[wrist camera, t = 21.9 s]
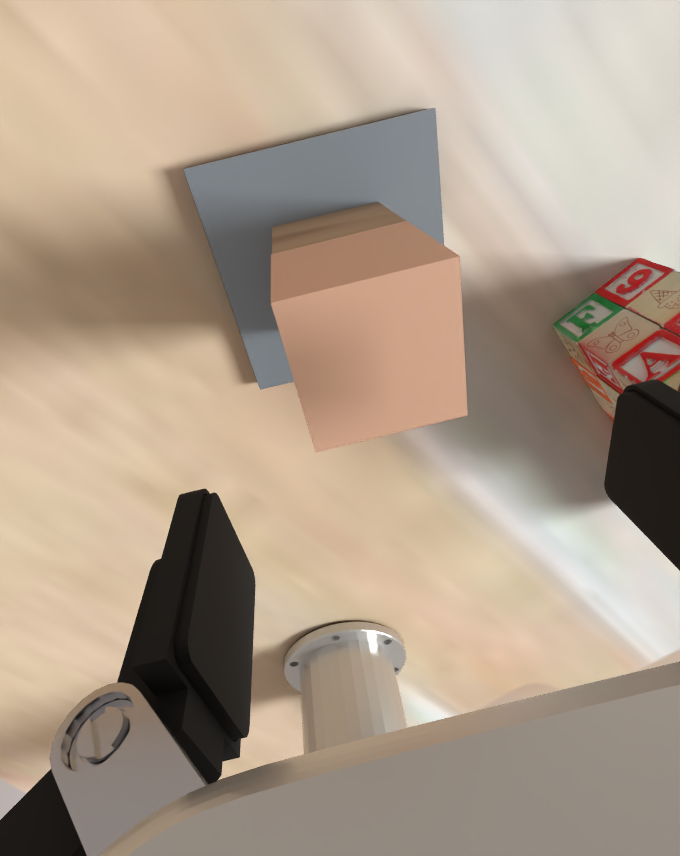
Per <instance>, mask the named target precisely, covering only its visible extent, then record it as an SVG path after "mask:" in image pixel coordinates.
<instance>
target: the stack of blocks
mask: <svg viewBox="0 0 680 856" xmlns="http://www.w3.org/2000/svg"><path fill="white" fill-rule="evenodd" d="M553 328H554V330H555V331H556V333H557V334H558V336H559V338H560V339H561V341H562V342H563V344H564V346H565V347H566V349H567V351H568V352H569V354H570V355H571V359H572V361H573V363H574V364H575V366H576V367H577V369H578V370H579V372H580V374H581V375H582V377H583V378H584V380H585V381H586V383H587V384H588V386H589V388H590V389H591V391H592V393H593V394H594V396H595V398H596V399H597V401H598V402H599V404H600V405H601V407H602V408H603V410H605V411H606V412H607V413H608V415H609V416H610V418H611V419H612V421H613V422H614V416H615V409H616V403H617V398H618V396H619V395H620V394H622V393H623V390H624V389H625V388H626V387H627V386H629V385H632V384H636V383H640V382H644V381H648V380H656V379H657V380H659V381H661V382H663V383H665V384H667V385H668V386H670V387H672V388H673V389H675V390H677V391H678V392H680V272H676V270H674V269H671V268H669V267H666V266H663V265H660V264H656V263H653V262H651V261H648V260H645V259H643V258H639V259H637V260H636V261H634V262H633V263H632V264H631V265H629V266H628V267H627V268H625V269H624V270H623V271H621V272H620V273H619V274H618V275H616V276H615V277H614V278H612V279H611V280H610V281H609V282H607V283H606V284H605V285H603V286H602V287H601V288H599V289H598V290H597V291H596V292H595V293H594V294H593V295H591V296H590V297H589V298H588V299H586V300H585V301H584V302H582V303H581V304H580V305H578V306H577V307H576V308H574V309H573V310H572V311H570V312H569V313H568V314H567V315H565V316H564V317H563V318H561V319H560V320H559V321H557V322H556V323H555V324H553Z"/></svg>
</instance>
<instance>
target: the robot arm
mask: <svg viewBox="0 0 680 856" xmlns="http://www.w3.org/2000/svg"><path fill="white" fill-rule="evenodd" d="M604 486H605V490H606V493H607V495H608V497H609V498H610V499H611V500H612V501H613V502H614V503H615V504H616V505H617V506H618V507H619V508H620V509H621V510H622V511H623V513H624V514H625V515H626V516H627V517H628V518H629V519H630V520H631V521H632V522H633V523H634V524H635V525H636V526H637V527H638V528H639V529H640V530H641V531H642V532H643V533H644V534H645V535H646V536H647V537H648V538H649V539H650V540H651V541H652V542H653V543H654V544H655V546H656V547H657V548H658V549H659V550H660V551H661V552H662V553H663V554H664V555H665V556H666V557H667V558H668V559H669V560H670V561H671V562H672V563H673V564H674V565H675V566H676V567H677V568H678V569H679V570H680V392H678V391H677V390H675V389H673V388H672V387H670V386H668V385H667V384H665V383H663V382H661V381H659V380H657V379H656V380H648V381H644V382H640V383H636V384H632V385H629V386H627V387H626V388H625V389H624V390H623V393H622V394H620V395H619V396H618V398H617V403H616V409H615V416H614V423H613V429H612V436H611V442H610V449H609V456H608V462H607V469H606V476H605V482H604ZM254 606H255V576H254V572H253V569H252V567H251V565H250V563H249V560H248V558H247V556H246V554H245V552H244V550H243V548H242V545H241V543H240V541H239V539H238V537H237V535H236V533H235V530H234V528H233V526H232V524H231V522H230V520H229V518H228V515H227V513H226V511H225V509H224V507H223V505H222V503H221V500H220V498H219V496H218V495H217V494H216V493H211V494H210V493H209V492H208V491H207V490H206V489H201V490H197V491H192V492H188V493H184V494H181V495H179V497H178V500H177V504H176V507H175V511H174V515H173V518H172V522H171V525H170V529H169V533H168V536H167V540H166V544H165V547H164V551H163V555H162V558H161V559H159V560H156V561H155V562H154V563H153V565H152V567H151V570H150V573H149V576H148V580H147V583H146V586H145V590H144V593H143V597H142V600H141V603H140V607H139V610H138V614H137V617H136V620H135V624H134V627H133V631H132V634H131V637H130V641H129V644H128V648H127V651H126V654H125V658H124V661H123V665H122V668H121V671H120V675H119V678H118V682H117V683H114V684H109V685H106V686H104V687H102V688H100V689H97V690H95V691H94V692H93V693H91V694H90V695H88V696H87V697H86V698H84V699H83V700H82V701H81V702H80V703H79V704H78V705H77V706H76V707H75V708H74V709H73V710H72V711H71V712H70V713H69V715H68V716H67V718H66V719H65V720H64V722H63V723H62V725H61V726H60V728H59V730H58V732H57V735H56V737H55V739H54V741H53V744H52V749H51V755H50V763H51V770H50V771H49V772H48V773H47V774H46V775H45V776H44V777H43V778H42V779H41V780H40V781H39V782H38V783H37V784H36V785H35V786H34V787H33V788H32V789H31V790H30V791H29V792H28V793H27V794H26V795H25V796H24V797H23V798H22V799H21V800H20V801H19V802H18V803H17V804H16V805H15V806H14V807H13V808H12V809H11V810H10V811H9V812H8V813H7V814H6V815H5V816H4V817H3V818H2V819H1V820H0V856H680V662H676V663H672V664H667V665H663V666H659V667H655V668H651V669H646V670H642V671H638V672H634V673H630V674H626V675H622V676H618V677H613V678H609V679H605V680H601V681H597V682H593V683H589V684H584V685H580V686H576V687H572V688H568V689H564V690H560V691H556V692H552V693H547V694H543V695H539V696H535V697H532V698H527V699H523V700H519V701H514V702H510V703H506V704H502V705H498V706H494V707H490V708H486V709H482V710H478V711H474V712H470V713H466V714H461V715H457V716H453V717H449V718H445V719H441V720H437V721H433V722H429V723H425V724H421V725H417V726H413V727H409V728H407V723H406V719H405V714H404V710H403V706H402V701H401V697H400V693H399V688H398V684H397V679H396V675H397V674H398V673H399V672H400V671H401V669H402V667H403V666H404V663H405V660H406V651H405V647H404V644H403V641H402V639H401V638H400V636H399V635H398V634H397V633H396V632H394V631H393V630H391V629H389V628H387V627H385V626H382V625H379V624H376V623H369V622H344V623H338V624H333V625H329V626H326V627H323V628H320V629H317V630H315V631H313V632H311V633H309V634H307V635H305V636H304V637H302V638H301V639H299V640H298V641H297V642H296V643H295V644H294V645H293V646H292V647H291V648H290V650H289V651H288V652H287V654H286V657H285V660H284V673H285V678H286V680H287V682H288V683H289V684H290V685H291V686H292V687H293V688H294V689H296V690H297V691H299V692H301V708H302V727H303V747H304V755H300V756H297V757H293V758H289V759H285V760H282V761H278V762H274V763H270V764H267V765H263V766H260V767H257V768H254V769H251V770H248V771H245V772H242V773H239V774H236V775H233V776H230V777H226V778H223V779H220V780H218V779H219V777H220V776H221V772H222V761H226V760H230V759H235V758H239V757H240V743H241V738H245V737H247V736H248V733H249V726H250V702H251V678H252V654H253V630H254ZM217 780H218V781H217Z"/></svg>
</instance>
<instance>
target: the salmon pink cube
mask: <svg viewBox="0 0 680 856" xmlns="http://www.w3.org/2000/svg"><path fill="white" fill-rule="evenodd" d="M271 306H272V309H273V312H274V316H275V319H276V322H277V326H278V329H279V332H280V336H281V339H282V342H283V345H284V349H285V352H286V355H287V359H288V362H289V365H290V369H291V372H292V375H293V379H294V382H295V385H296V389H297V392H298V395H299V399H300V402H301V405H302V409H303V412H304V415H305V419H306V422H307V425H308V429H309V432H310V435H311V439H312V442H313V445H314V449H315V452H320V451H324V450H328V449H332V448H337V447H341V446H345V445H349V444H353V443H357V442H361V441H365V440H369V439H373V438H378V437H382V436H386V435H390V434H394V433H398V432H402V431H406V430H410V429H414V428H418V427H423V426H427V425H431V424H435V423H439V422H443V421H447V420H451V419H455V418H459V417H464V416H468V411H467V391H466V371H465V352H464V332H463V312H462V292H461V273H460V256H459V255H457V254H456V253H454V252H453V251H451V250H450V249H448V248H447V247H445V246H444V245H442V244H441V243H439V242H438V241H436V240H435V239H433V238H432V237H430V236H429V235H427V234H426V233H424V232H423V231H421V230H420V229H418V228H417V227H415V226H414V225H412V224H411V223H409V222H408V221H404V222H400V223H396V224H392V225H388V226H383V227H379V228H375V229H371V230H367V231H363V232H359V233H355V234H351V235H347V236H343V237H339V238H335V239H331V240H327V241H323V242H319V243H315V244H311V245H307V246H303V247H299V248H295V249H291V250H287V251H283V252H279V253H275V254H271Z"/></svg>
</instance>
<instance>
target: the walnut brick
mask: <svg viewBox="0 0 680 856" xmlns="http://www.w3.org/2000/svg"><path fill="white" fill-rule="evenodd" d="M404 221H406V220H404V219H403V218H401V217H400V216H398V215H397V214H395V213H394V212H392V211H391V210H390V209H388V208H387V207H385V206H384V205H382V204H381V203H379V202H375V203H371V204H367V205H363V206H358V207H354V208H350V209H346V210H342V211H337V212H333V213H329V214H325V215H320V216H316V217H312V218H308V219H303V220H299V221H295V222H291V223H286V224H282V225H278V226H274V227H272V254H275V253H279V252H283V251H287V250H291V249H295V248H299V247H303V246H307V245H311V244H315V243H319V242H323V241H327V240H331V239H335V238H339V237H343V236H347V235H351V234H355V233H359V232H363V231H367V230H371V229H375V228H379V227H383V226H388V225H392V224H396V223H400V222H404Z"/></svg>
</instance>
